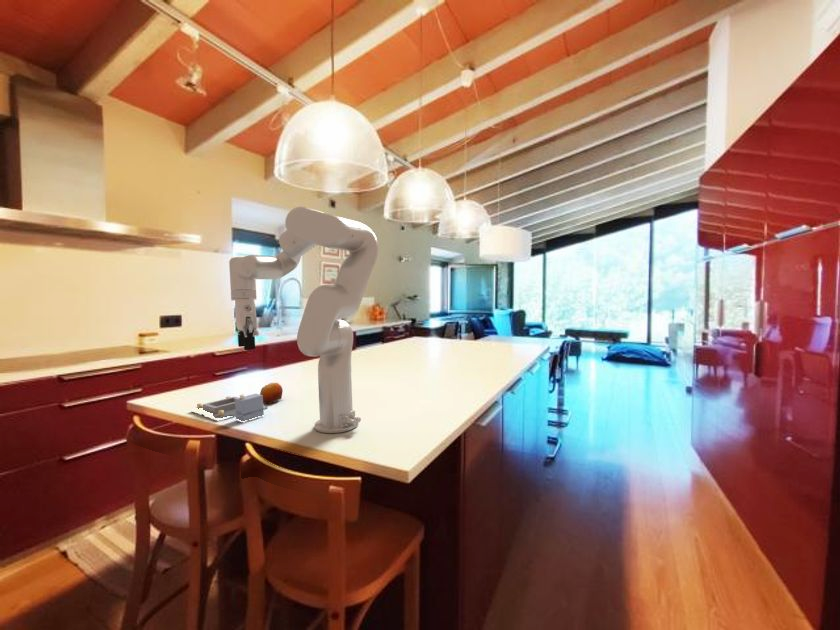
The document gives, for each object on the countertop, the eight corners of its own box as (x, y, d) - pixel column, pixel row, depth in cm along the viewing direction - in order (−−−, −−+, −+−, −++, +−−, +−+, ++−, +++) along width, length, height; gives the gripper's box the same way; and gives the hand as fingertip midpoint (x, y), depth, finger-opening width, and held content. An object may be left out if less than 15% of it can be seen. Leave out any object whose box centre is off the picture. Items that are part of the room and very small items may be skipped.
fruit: (283, 400, 138) (270, 381, 138) (265, 412, 139) (252, 393, 138) (291, 394, 146) (279, 376, 146) (273, 405, 147) (262, 387, 146)
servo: (268, 415, 127) (266, 391, 126) (238, 424, 119) (237, 398, 118) (260, 413, 129) (259, 389, 129) (231, 422, 121) (230, 396, 121)
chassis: (259, 409, 133) (259, 400, 133) (218, 421, 122) (217, 412, 122) (231, 401, 144) (230, 393, 143) (191, 411, 132) (190, 403, 132)
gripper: (262, 295, 122) (265, 349, 123) (250, 295, 136) (253, 344, 137) (236, 296, 118) (239, 352, 119) (226, 295, 132) (229, 346, 133)
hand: (246, 347), depth 128 cm, fingers open, 9 cm apart
